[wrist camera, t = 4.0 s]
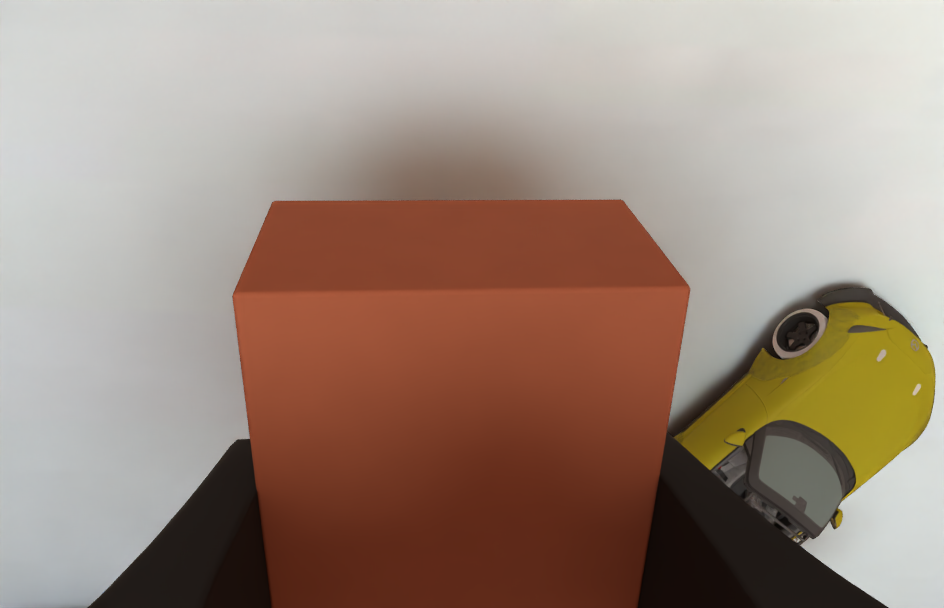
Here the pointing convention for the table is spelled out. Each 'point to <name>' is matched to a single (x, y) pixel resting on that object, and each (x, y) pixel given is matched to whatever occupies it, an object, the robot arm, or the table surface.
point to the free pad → (457, 400)
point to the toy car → (818, 411)
